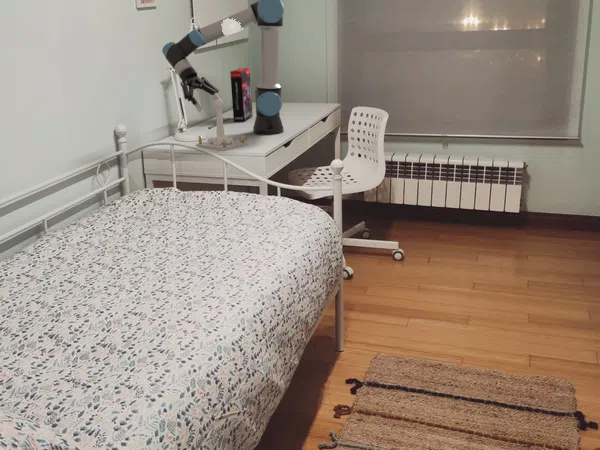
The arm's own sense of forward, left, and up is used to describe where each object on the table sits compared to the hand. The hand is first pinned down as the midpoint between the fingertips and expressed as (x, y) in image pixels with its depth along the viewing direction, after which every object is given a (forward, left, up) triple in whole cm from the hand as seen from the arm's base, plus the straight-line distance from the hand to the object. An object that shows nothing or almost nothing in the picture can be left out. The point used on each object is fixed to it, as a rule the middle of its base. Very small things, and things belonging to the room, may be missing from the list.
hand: (211, 107), depth 312 cm
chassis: (-1, +4, -17) cm, 18 cm away
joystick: (+1, +4, -16) cm, 17 cm away
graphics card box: (-60, -36, -17) cm, 72 cm away
